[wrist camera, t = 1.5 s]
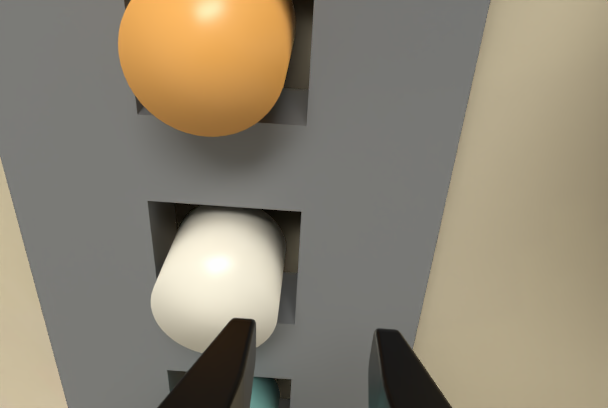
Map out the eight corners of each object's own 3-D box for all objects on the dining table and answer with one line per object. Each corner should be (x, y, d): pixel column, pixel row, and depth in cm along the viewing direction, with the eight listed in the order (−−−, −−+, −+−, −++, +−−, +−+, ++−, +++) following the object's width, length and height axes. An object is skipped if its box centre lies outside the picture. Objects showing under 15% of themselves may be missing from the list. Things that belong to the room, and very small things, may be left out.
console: (487, -125, 15) (517, -122, 13) (378, 425, 28) (383, 481, 25) (-16, -156, 15) (-85, -159, 13) (104, 404, 28) (82, 458, 26)
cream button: (288, 203, 19) (279, 265, 16) (284, 291, 21) (276, 359, 18) (173, 195, 19) (144, 255, 16) (180, 284, 21) (156, 351, 18)
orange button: (299, -48, 15) (290, -26, 12) (292, 93, 17) (284, 142, 14) (151, -58, 15) (107, -38, 12) (163, 85, 17) (128, 131, 14)
